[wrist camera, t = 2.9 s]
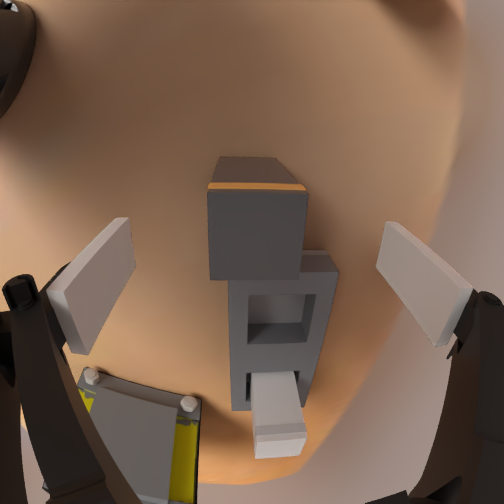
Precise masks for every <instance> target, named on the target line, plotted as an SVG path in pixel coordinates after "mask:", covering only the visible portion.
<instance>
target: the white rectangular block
mask: <svg viewBox="0 0 504 504" xmlns="http://www.w3.org/2000/svg"><path fill="white" fill-rule="evenodd" d="M249 380H250V395H251V410H252V424H253V438H254V453H255V459H260V458H276V457H288V456H297V455H300V453H301V451H302V448H303V446H304V444H305V442H306V440H307V434H306V432H307V431H306V426H305V423H304V419H303V414H302V409H301V404H300V400H299V395H298V390H297V385H296V380H295V375H294V371H283V372H260V373H250V379H249Z"/></svg>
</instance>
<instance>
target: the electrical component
mask: <svg viewBox="0 0 504 504" xmlns="http://www.w3.org/2000/svg"><path fill="white" fill-rule="evenodd" d="M77 387H78V390H79V392H80V395H81V397H82V399H83V401H84V404H85V406H86V408H87V410H88V412H89V414H90V417H91V419H92V421H93V423H94V425H95V427H96V429H97V431H98V433H99V435H100V436H101V438H102V440H103V442H104V444H105V446H106V447H107V449H108V451H109V453H110V454H111V456H112V458H113V460H114V461H115V463H116V465H117V466H118V468H119V469H120V471H121V473H122V474H123V476H124V477H125V479H126V480H127V482H128V483H129V485H130V486H131V488H132V489H133V491H134V492H135V494H136V495H137V496H138V498H139V499H140V500H141V502H142V503H143V504H197V487H198V486H197V484H198V460H199V440H200V422H201V406H202V400H201V399H197V398H195V397H192V396H183V395H178V394H174V393H169V392H165V391H161V390H157V389H153V388H150V387H146V386H142V385H139V384H135V383H132V382H128V381H125V380H122V379H119V378H115V377H112V376H109V375H106V374H103V373H100V372H97V370H95V369H92V368H86V367H85V368H84V369H83V372H82V374H81V376H80V379H79V381H78V384H77ZM42 488H43V489H44V490H45V491H46V492H48V493H49V491H48V488H47V486H46V483H45V481H44V483H43V487H42Z"/></svg>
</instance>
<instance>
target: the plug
mask: <svg viewBox="0 0 504 504" xmlns="http://www.w3.org/2000/svg"><path fill="white" fill-rule="evenodd" d="M207 205H208V240H209V265H210V280H299V274H300V266H301V258H302V250H303V242H304V233H305V224H306V215H307V205H308V193H307V192H306V189H305V188H304V187H303V185H302V184H299V183H298V182H297V181H296V180H295V179H294V177H293V176H292V175H291V174H290V173H289V172H288V171H287V170H286V169H285V167H284V166H283V165H282V164H281V163H280V162H279V161H278V160H277V159H276V158H259V157H220V158H219V161H218V163H217V166H216V169H215V172H214V175H213V177H212V180H211V183H209V185H208V192H207Z"/></svg>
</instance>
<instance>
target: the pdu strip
mask: <svg viewBox="0 0 504 504" xmlns="http://www.w3.org/2000/svg"><path fill="white" fill-rule="evenodd" d="M338 275H339V271H338V269H337V267H336V266H335V264H334V262H333V261H332V259H331V257H330V256H329V254H328V252H327V251H326V250H302V258H301V266H300V274H299V280H228V303H229V347H230V378H231V404H232V411H252V410H251V395H250V380H249V379H250V373H260V372H283V371H294V375H295V380H296V385H297V390H298V395H299V400H300V404H301V407H304V405H305V402H306V399H307V396H308V393H309V390H310V386H311V383H312V380H313V376H314V373H315V369H316V366H317V362H318V359H319V355H320V351H321V348H322V344H323V340H324V336H325V332H326V328H327V324H328V320H329V316H330V312H331V307H332V303H333V299H334V294H335V290H336V285H337V280H338Z"/></svg>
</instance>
